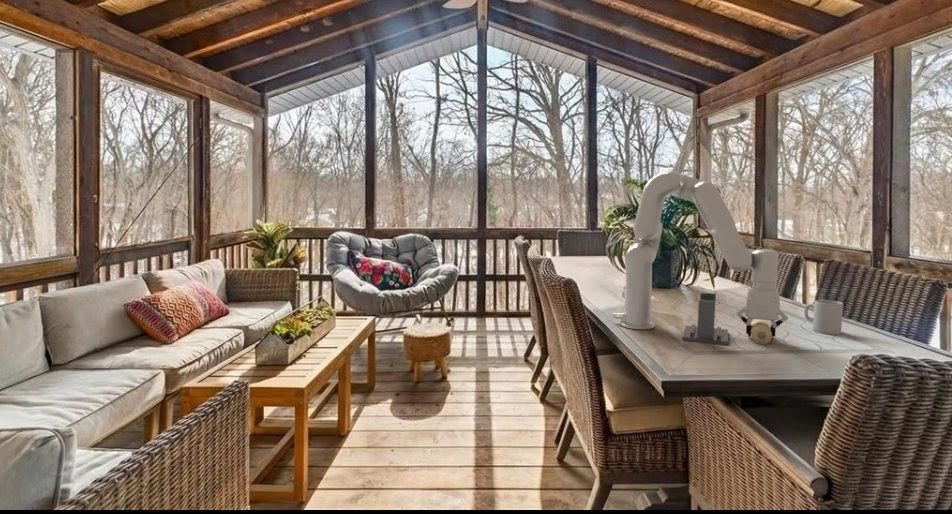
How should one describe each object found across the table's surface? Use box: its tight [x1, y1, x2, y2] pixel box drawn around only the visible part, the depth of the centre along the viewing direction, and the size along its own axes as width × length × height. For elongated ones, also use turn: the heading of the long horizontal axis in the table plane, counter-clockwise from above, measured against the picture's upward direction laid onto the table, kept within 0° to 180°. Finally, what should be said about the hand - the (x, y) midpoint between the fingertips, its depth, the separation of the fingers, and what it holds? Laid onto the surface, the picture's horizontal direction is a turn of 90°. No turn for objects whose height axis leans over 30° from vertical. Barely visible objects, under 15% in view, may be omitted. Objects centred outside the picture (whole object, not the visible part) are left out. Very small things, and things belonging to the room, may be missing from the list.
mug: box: [803, 299, 844, 336], centre depth 182 cm, size 12×8×11 cm
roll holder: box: [682, 292, 729, 346], centre depth 174 cm, size 14×17×14 cm
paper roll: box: [751, 319, 773, 345], centre depth 171 cm, size 12×6×6 cm, turn 154°
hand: (760, 336), depth 171 cm, fingers closed on paper roll, 5 cm apart
